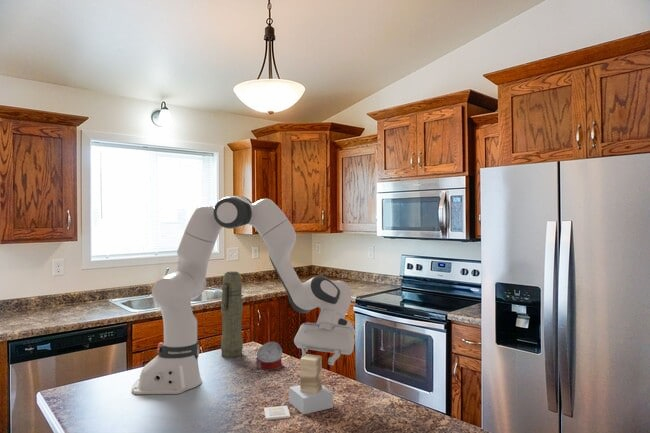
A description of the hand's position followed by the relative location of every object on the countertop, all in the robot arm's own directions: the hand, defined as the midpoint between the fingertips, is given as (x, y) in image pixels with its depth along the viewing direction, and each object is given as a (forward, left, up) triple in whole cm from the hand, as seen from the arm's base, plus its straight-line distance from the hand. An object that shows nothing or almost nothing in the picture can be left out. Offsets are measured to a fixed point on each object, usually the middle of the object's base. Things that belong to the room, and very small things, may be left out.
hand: (316, 362), depth 140 cm
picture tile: (-13, -7, -12) cm, 19 cm away
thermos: (-25, +54, -12) cm, 61 cm away
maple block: (-2, -3, -7) cm, 8 cm away
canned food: (-11, +37, -12) cm, 41 cm away
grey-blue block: (-3, -3, -12) cm, 13 cm away
